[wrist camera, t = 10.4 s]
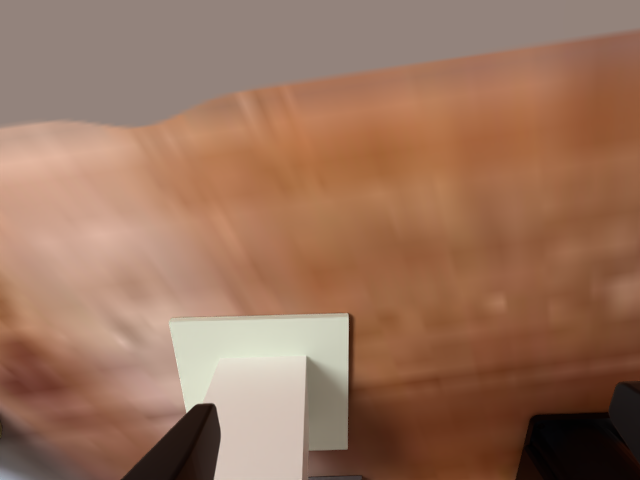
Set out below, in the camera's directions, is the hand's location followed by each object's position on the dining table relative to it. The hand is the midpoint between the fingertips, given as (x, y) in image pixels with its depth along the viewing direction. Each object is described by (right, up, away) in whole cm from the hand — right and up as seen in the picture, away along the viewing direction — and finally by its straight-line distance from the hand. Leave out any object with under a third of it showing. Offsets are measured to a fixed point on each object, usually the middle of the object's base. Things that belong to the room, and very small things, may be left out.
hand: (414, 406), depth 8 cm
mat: (-5, -5, +14) cm, 16 cm away
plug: (-5, -5, +13) cm, 15 cm away
